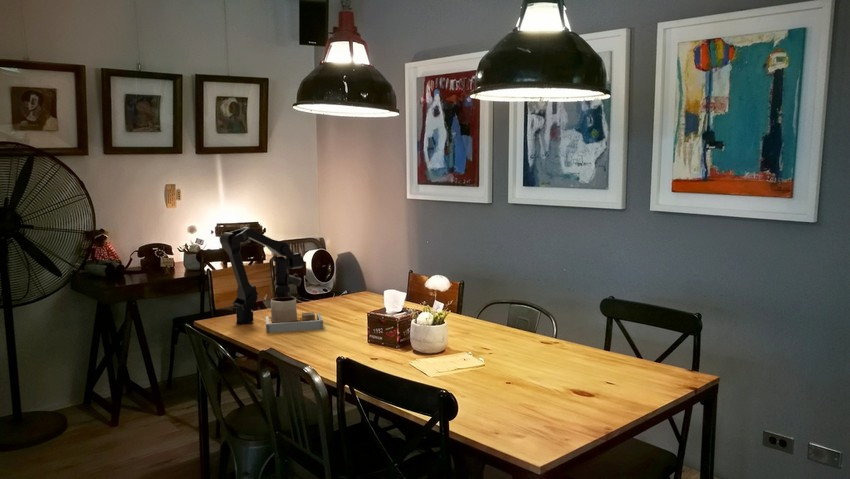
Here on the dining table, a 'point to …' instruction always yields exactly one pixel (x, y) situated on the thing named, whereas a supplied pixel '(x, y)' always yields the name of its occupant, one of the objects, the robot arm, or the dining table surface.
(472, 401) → the dining table surface
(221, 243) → the robot arm
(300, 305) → the dining table surface
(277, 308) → the planter
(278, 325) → the tray bay
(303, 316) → the walnut block
